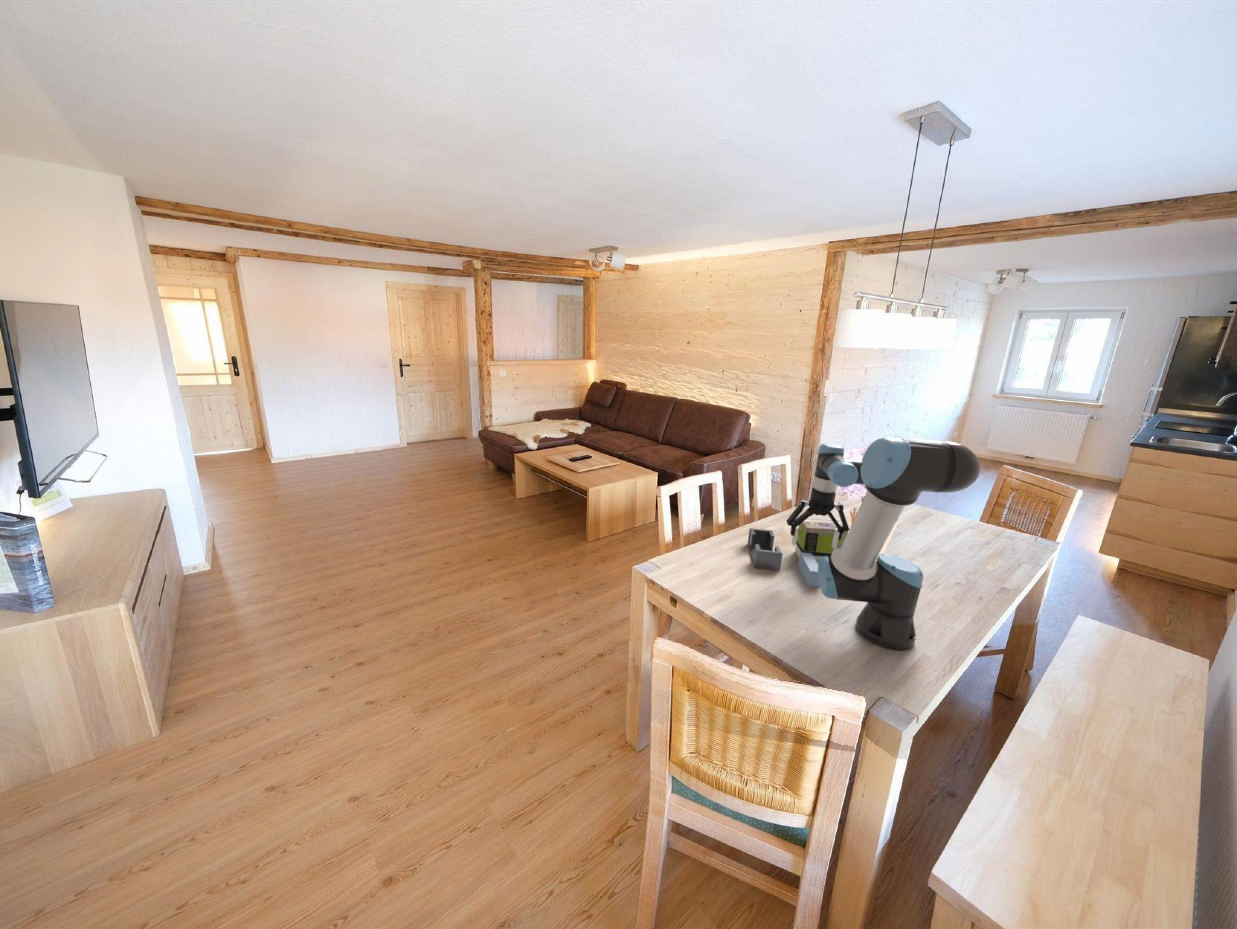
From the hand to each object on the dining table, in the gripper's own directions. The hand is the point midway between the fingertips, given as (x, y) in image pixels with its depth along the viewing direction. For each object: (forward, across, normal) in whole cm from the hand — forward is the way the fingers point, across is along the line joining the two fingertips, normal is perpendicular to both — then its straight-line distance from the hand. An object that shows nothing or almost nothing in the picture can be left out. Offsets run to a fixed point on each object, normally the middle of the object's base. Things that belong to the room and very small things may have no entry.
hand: (813, 545), depth 163 cm
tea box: (+12, -7, -14) cm, 20 cm away
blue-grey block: (+12, 0, 0) cm, 12 cm away
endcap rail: (+12, +14, -12) cm, 22 cm away
